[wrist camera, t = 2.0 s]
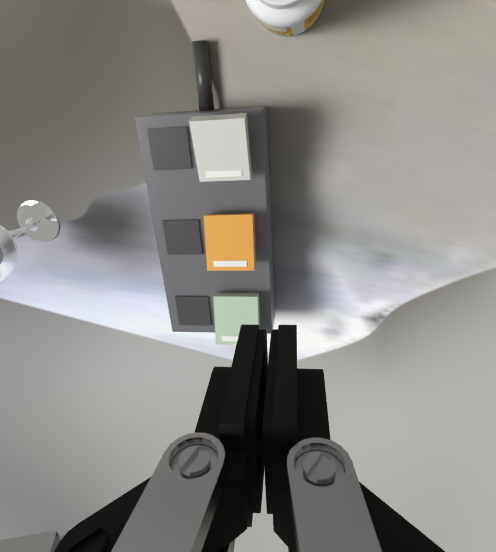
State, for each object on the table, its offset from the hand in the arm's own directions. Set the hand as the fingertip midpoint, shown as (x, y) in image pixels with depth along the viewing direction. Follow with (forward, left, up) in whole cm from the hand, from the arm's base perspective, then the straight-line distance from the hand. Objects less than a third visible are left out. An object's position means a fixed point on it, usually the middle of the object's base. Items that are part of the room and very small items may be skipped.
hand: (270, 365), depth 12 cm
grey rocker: (+5, -4, -21) cm, 22 cm away
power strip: (+7, +1, -26) cm, 27 cm away
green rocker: (+5, +11, -21) cm, 24 cm away
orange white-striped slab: (+5, +4, -21) cm, 22 cm away
